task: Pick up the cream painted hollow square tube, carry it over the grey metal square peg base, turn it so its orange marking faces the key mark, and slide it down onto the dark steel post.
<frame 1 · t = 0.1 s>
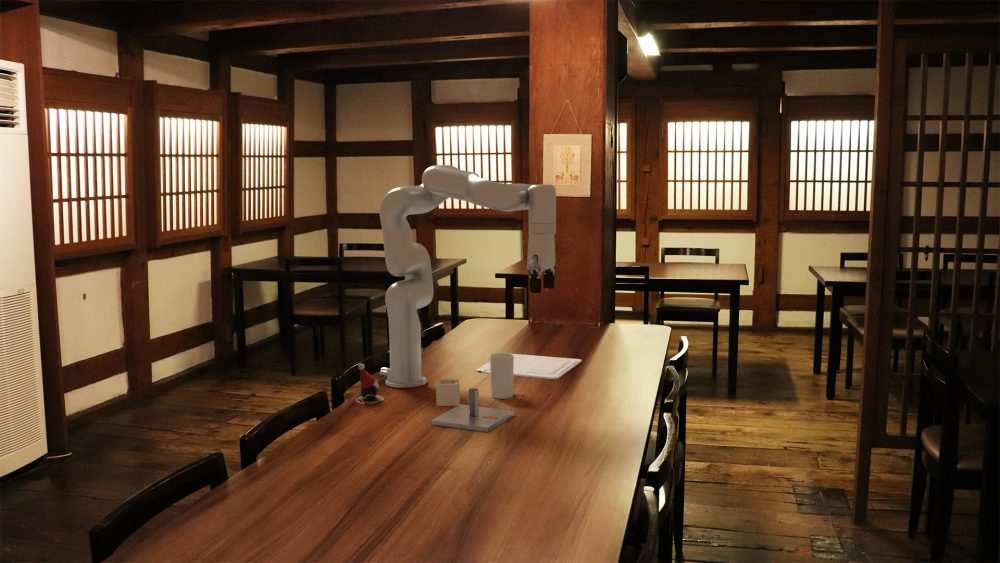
hand: (542, 290, 238), 31 cm above the table, fingers open, 9 cm apart
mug: (504, 395, 247), on the table
figurine: (369, 400, 243), on the table
tray: (530, 368, 283), on the table
hollow square tube: (447, 402, 239), on the table
square peg base: (473, 419, 223), on the table
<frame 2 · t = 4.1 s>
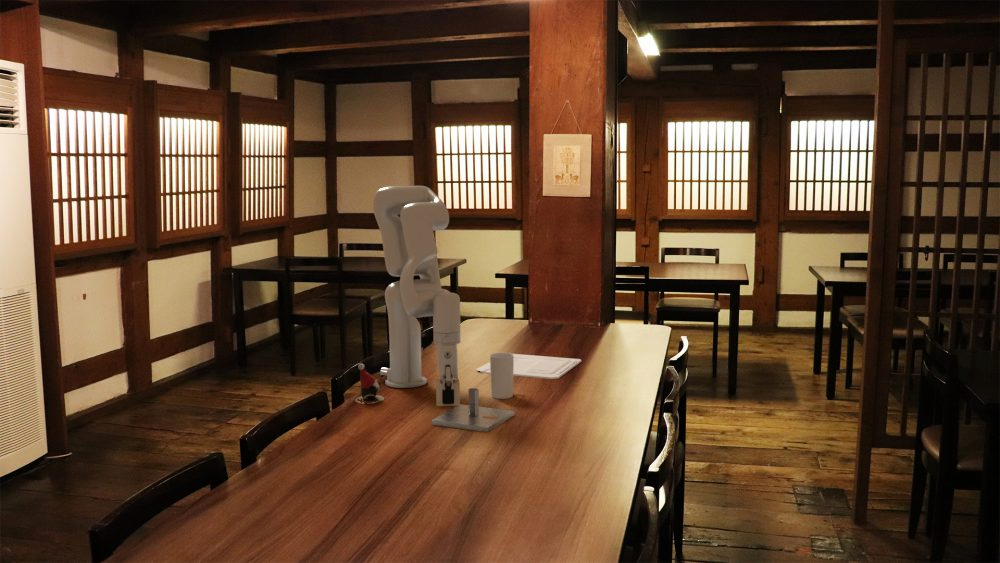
hand: (447, 399, 239), 1 cm above the table, fingers closed on hollow square tube, 6 cm apart
hollow square tube: (447, 402, 239), on the table, touching gripper
everything else where it was.
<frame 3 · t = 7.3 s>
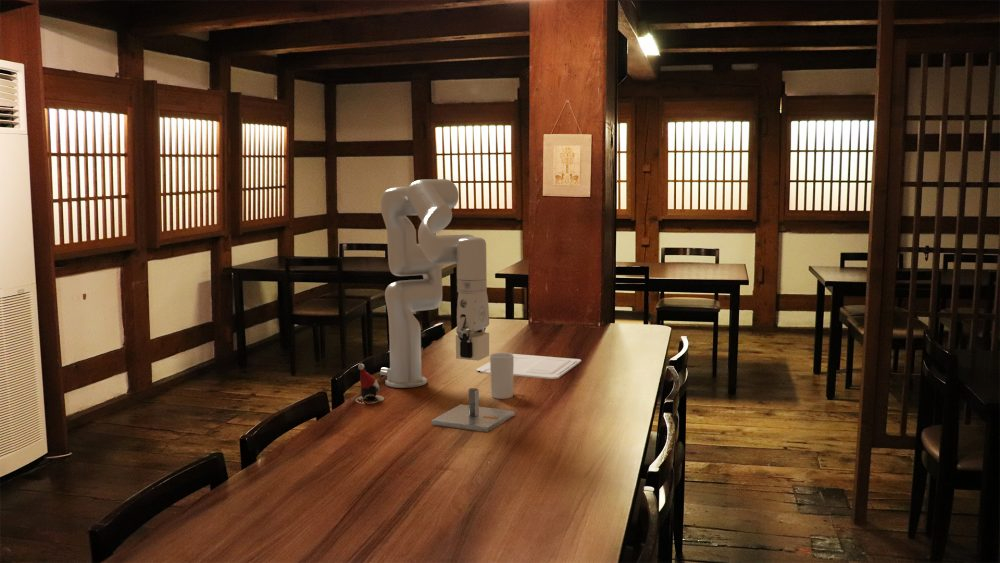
hand: (472, 353, 221), 18 cm above the table, fingers closed on hollow square tube, 6 cm apart
hollow square tube: (472, 357, 221), point 17 cm above the table, touching gripper
everything else where it was.
when the fingers open (3 cm above the table, at t = 10.8 s): hollow square tube stays where it is, resting on square peg base.
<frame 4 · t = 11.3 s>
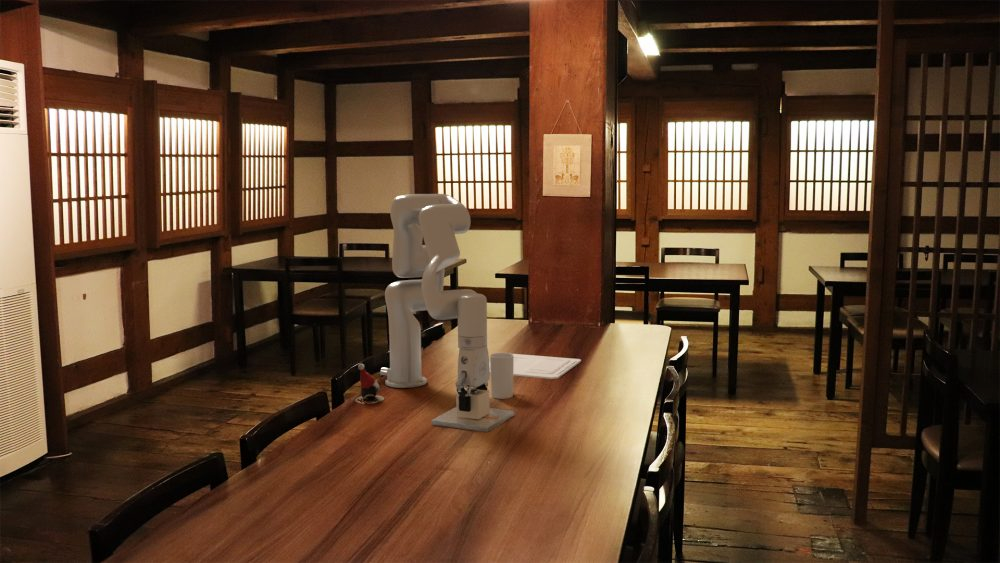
hand: (473, 406, 222), 4 cm above the table, fingers open, 9 cm apart
hollow square tube: (473, 415, 223), point 1 cm above the table, touching square peg base
everything else where it was.
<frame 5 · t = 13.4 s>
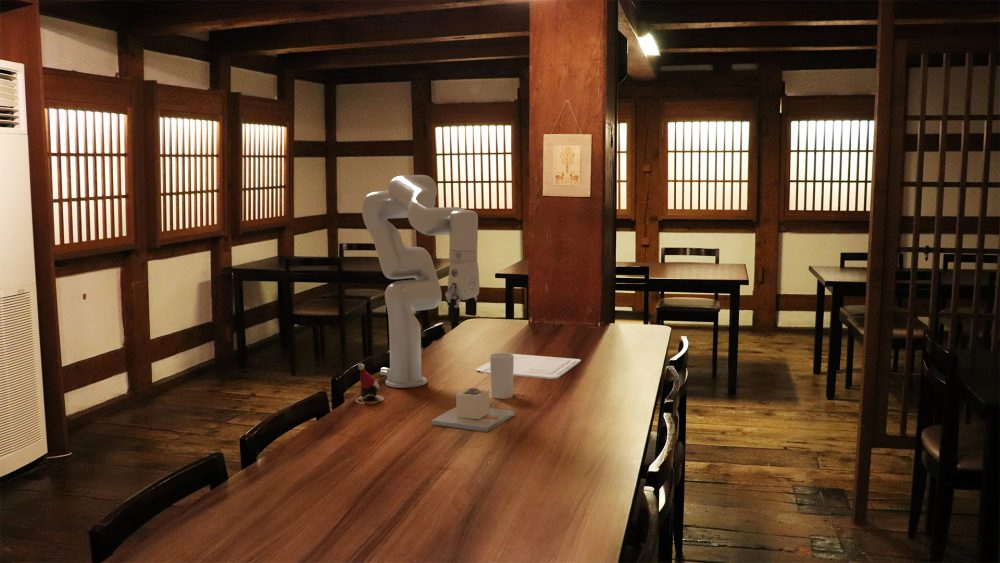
hand: (462, 318, 232), 25 cm above the table, fingers open, 9 cm apart
nothing on the table moved.
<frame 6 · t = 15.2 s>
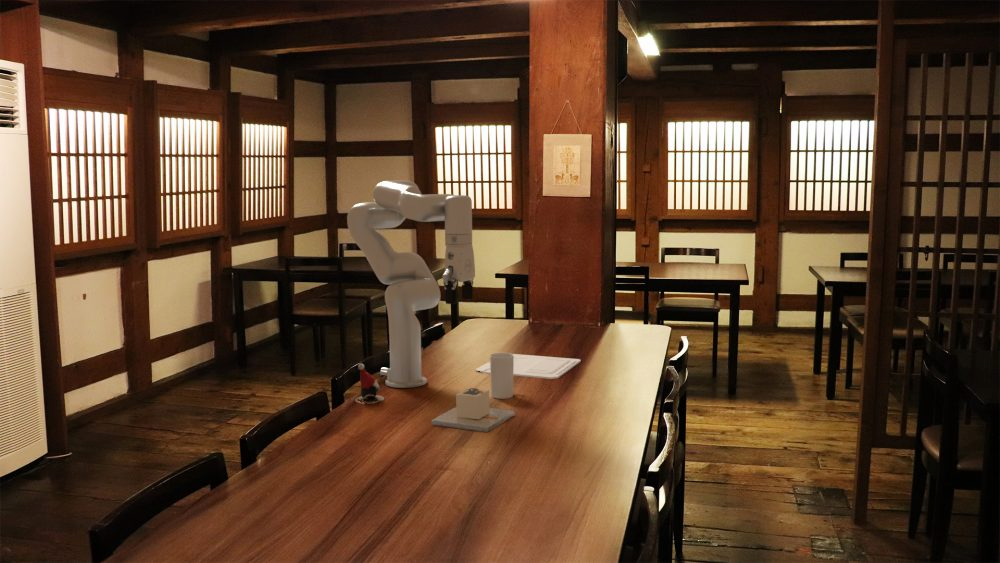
hand: (459, 301, 238), 28 cm above the table, fingers open, 9 cm apart
nothing on the table moved.
at the end: hollow square tube 0.0 cm off-centre on the square peg base, point 1.3 cm above the square peg base's base; hollow square tube tilted 2°; the gripper is holding nothing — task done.
